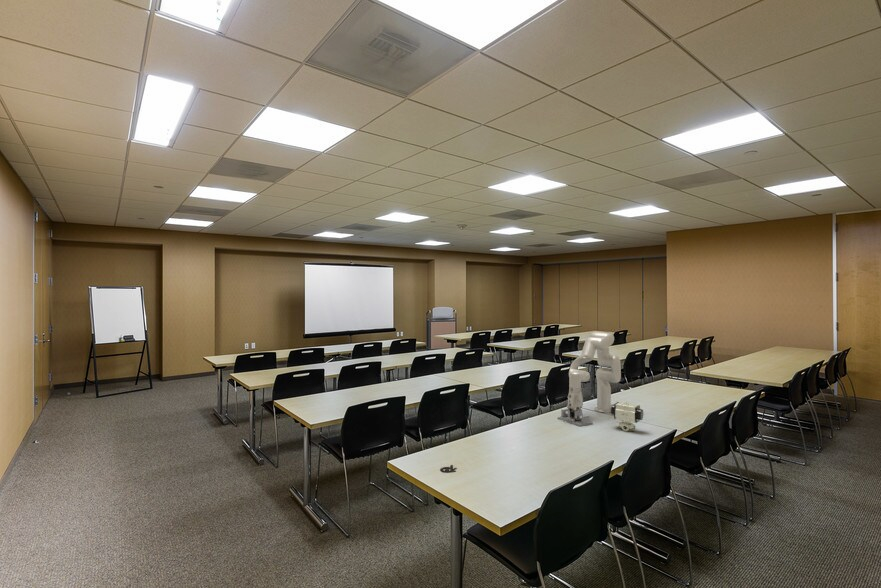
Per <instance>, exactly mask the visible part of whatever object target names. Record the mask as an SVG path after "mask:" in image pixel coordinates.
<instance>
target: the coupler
mask: <svg viewBox="0 0 881 588" xmlns="http://www.w3.org/2000/svg"><path fill="white" fill-rule="evenodd" d="M567 409H568V408H567ZM571 409H572V408H571ZM573 412H574V418H573V419H576V420H579V419H580V418H579V417H580V416H583V409H582V408H581V409H578V408H574V411H573ZM568 417H570V411H569V409H568ZM570 418H572V417H570Z"/></svg>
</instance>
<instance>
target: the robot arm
mask: <svg viewBox="0 0 881 588" xmlns="http://www.w3.org/2000/svg"><path fill="white" fill-rule="evenodd" d="M614 341H615V336H614V334H613V333H610V332H601V331H593V332H590V333H589V336H588V337H587V338H586V339H585V341H584V344H583V347H582V350H581V354H579V356H578V357H577V358H575V359H574V360H573V362H571V364H570V367H569V371H568V377H569V381H568V383H569V385H568V387H569V389H568V395H567V405H566V409H569V411H570V417H572V418H574V412H573V411H574V408H578V409H581V410H582V407H583V406H584V403H583V402H584V399H583V397H584V396H583V392H582V382H583V383H585V382H588V381H589V380H590V379H591V374H590V373H589V372H588V371H587V370H581V369H578V368H579V367H580V365H583V364H586V363H589V362H591V361H593V360H594V357H595V354H596V359H597V360H596V361H597V364H598V366H599V368H597V369H596V371H595V376H596V377H595V378H596V384H597V385H596V396H597V398H596V407H595V408H594V410H595V411H596V412H599V413H606V414H608V413H610V414H611V406H612V405H614V404H615V403H613V404H611V402H612V400H611V399H612V388H611V384H610V383H614V384H617V383H619V382H620V381H621V379H622V371H621V368H622V367H621V366H622V364H621V359H620V357H619V356H618V355H617V354H611V353H610V347H611V346H612V345H613V344H614ZM571 408H572V409H571Z"/></svg>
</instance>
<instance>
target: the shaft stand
mask: <svg viewBox="0 0 881 588" xmlns="http://www.w3.org/2000/svg"><path fill="white" fill-rule="evenodd" d="M560 415H561V416H558V417H557V420H559V421H562V420H563V422H565V421H566V422H565V423H569V424H572V425H575V426H577V427H579V428H580V427H584V426H585V427H586V426H589V425H594V423H593V422H592V421H590V415H588V414H585V415H582V416H580V417H579V418H580V419H579V420H576V419H573V418H570V417H568V408H561V411H560Z"/></svg>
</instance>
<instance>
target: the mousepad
mask: <svg viewBox="0 0 881 588" xmlns="http://www.w3.org/2000/svg"><path fill="white" fill-rule="evenodd" d="M439 470H440V472H441V473H447V474H449V473H456V472H457V467H454V466H453V464H450V466H444V467H441V468H440V469H439Z"/></svg>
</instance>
